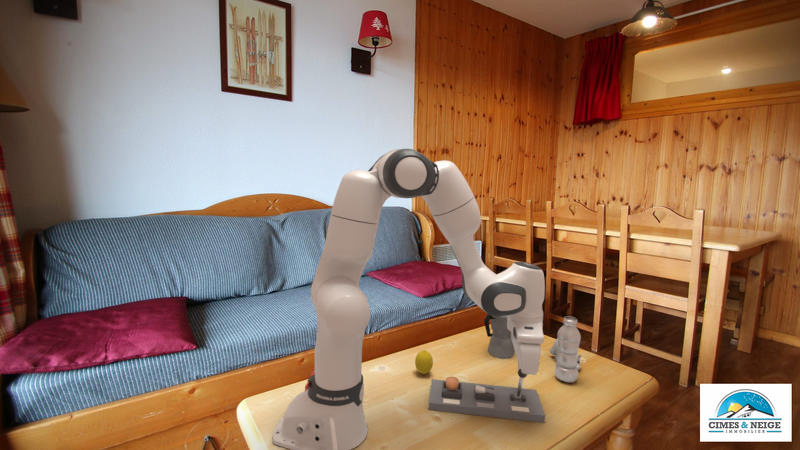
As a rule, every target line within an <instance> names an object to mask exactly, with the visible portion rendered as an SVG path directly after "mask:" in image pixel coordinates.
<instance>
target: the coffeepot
mask: <svg viewBox="0 0 800 450" xmlns="http://www.w3.org/2000/svg"><path fill="white" fill-rule="evenodd" d="M507 316H508V315H507ZM507 316H502V317H494V316H491V315H489V314H486V316H485V318H484V319H483V324H484V327H485V331H486V335H487V337H488V338H490V339H489V343H488V347H487V352H488V353H489V355H490V356H492V357H493V358H498V359H502V360H503V359H505V360H507V359H511V358H512V357H514V355H515V349H514V346H513V343H512V340H511V331H509V330H508V328H507ZM490 327H491V328H490ZM491 330H492V332H491Z"/></svg>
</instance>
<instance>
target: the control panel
mask: <svg viewBox="0 0 800 450" xmlns="http://www.w3.org/2000/svg"><path fill="white" fill-rule="evenodd" d="M476 385H478V386H481V387H485V388H489V389H493V390H494V394H485V393H476V392H475V387H476ZM517 388H518V387H514V386H503V385H495V384H494V385H493V384H484V383H476V382H475V383H472V382H464V381H463V382H462V381H459V386H458V389H457V390H449V389H447V388H446V379H445V380H444V379H435V378H434V379H433V378H432V379H431V385H430V391H429V397H428V398H429V399H428V410H429V411H438V412H447V413H454V414H455V413H457V414H465V415H472V416H473V415H475V416H482V417H483V416H484V417H491V418H499V419H509V420H517V421H526V422H532V423H533V422H536V423H544V424H545V423H546V414H545V411H544V409H543V408H544V407H543V405H542V403H541V400H540V396H539V394H538V391H537V389H533V388H523V387H522V389H521V394H520V396H521V399H516V398H515V394H517Z"/></svg>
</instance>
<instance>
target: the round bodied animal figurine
mask: <svg viewBox="0 0 800 450" xmlns="http://www.w3.org/2000/svg"><path fill="white" fill-rule="evenodd" d="M552 345H553V346H551V347H550V349H549V353H550V354H551V355H552V356H555V357H554V360H555V362H557V358H558V337H557V338H556V339H555V340H554V342H553V344H552ZM581 356H582V354H578V353H577V368H578V371H579V370H581Z"/></svg>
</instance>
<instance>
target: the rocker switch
mask: <svg viewBox="0 0 800 450" xmlns="http://www.w3.org/2000/svg"><path fill="white" fill-rule="evenodd" d="M475 392H476V393H485V394H494V390H493V389H489V388H485V387H481V386H478V385H476V387H475Z"/></svg>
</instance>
